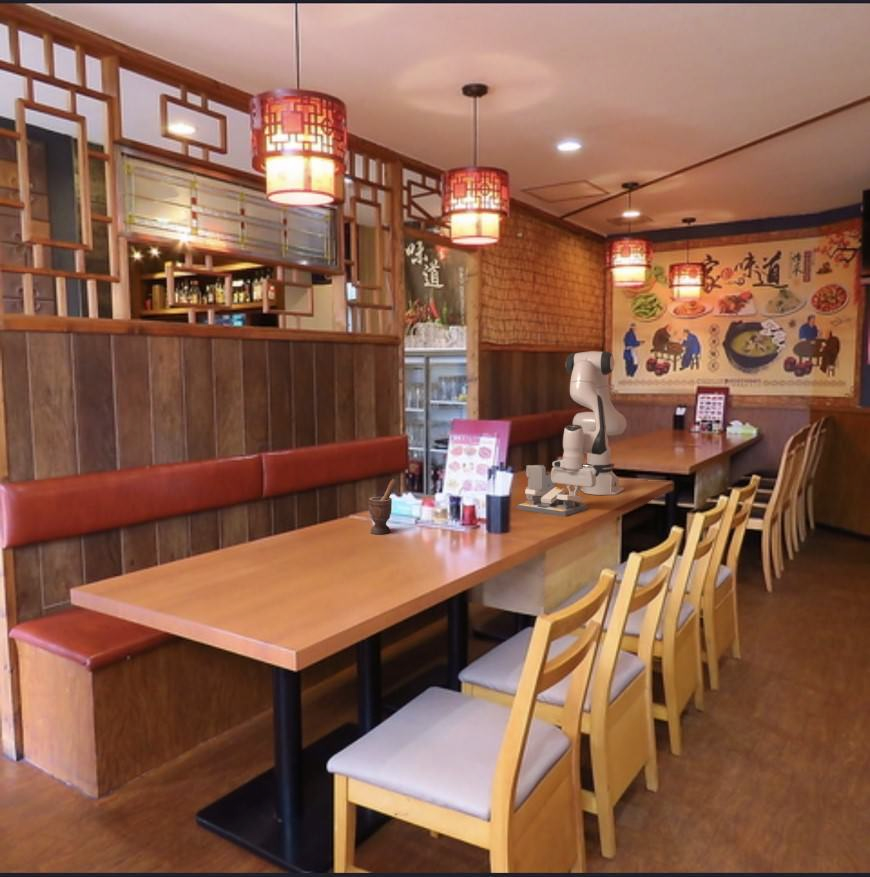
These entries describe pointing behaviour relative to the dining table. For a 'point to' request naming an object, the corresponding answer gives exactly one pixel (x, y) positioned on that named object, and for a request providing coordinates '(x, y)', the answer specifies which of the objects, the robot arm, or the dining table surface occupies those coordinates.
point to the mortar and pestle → (382, 509)
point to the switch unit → (552, 506)
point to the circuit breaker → (538, 479)
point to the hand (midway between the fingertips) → (573, 495)
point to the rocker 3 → (569, 497)
